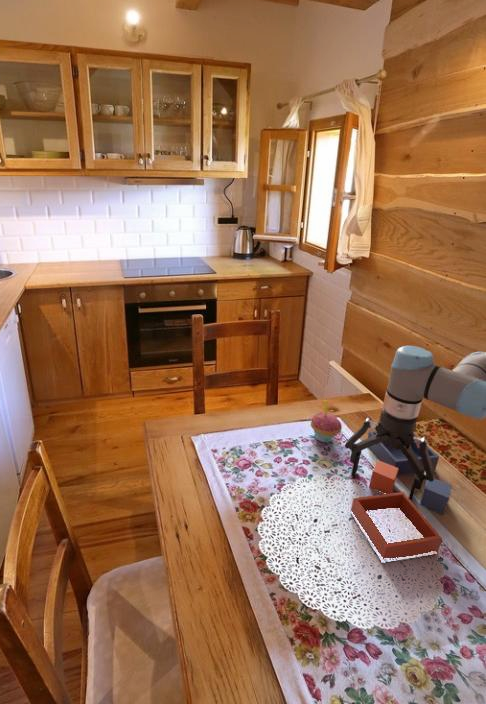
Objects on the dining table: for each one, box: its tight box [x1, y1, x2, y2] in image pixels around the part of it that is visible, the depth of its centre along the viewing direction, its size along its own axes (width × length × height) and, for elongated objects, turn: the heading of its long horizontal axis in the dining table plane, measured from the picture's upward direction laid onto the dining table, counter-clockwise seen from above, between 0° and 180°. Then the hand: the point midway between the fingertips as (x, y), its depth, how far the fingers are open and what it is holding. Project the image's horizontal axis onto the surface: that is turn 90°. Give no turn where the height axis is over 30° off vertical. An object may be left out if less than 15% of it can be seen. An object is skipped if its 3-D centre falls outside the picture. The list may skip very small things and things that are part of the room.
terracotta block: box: [368, 459, 399, 494], centre depth 99 cm, size 5×5×5 cm
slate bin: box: [367, 430, 440, 476], centre depth 110 cm, size 13×13×4 cm
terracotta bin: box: [350, 491, 443, 559], centre depth 86 cm, size 13×13×4 cm
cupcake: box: [310, 399, 343, 443], centre depth 115 cm, size 9×8×12 cm
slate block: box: [419, 478, 452, 516], centre depth 95 cm, size 5×5×5 cm
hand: (381, 485), depth 100 cm, fingers open, 13 cm apart
